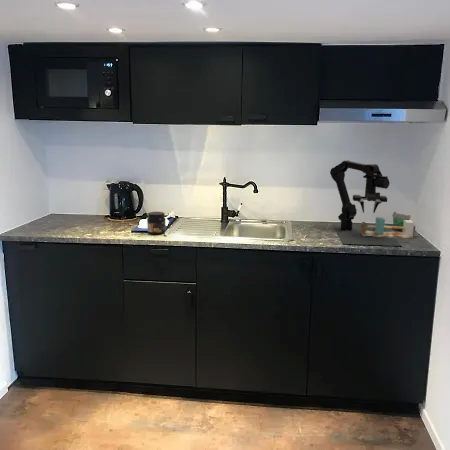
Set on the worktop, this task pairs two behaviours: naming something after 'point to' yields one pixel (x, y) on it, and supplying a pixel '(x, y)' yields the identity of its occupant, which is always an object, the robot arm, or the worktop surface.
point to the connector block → (408, 227)
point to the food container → (399, 220)
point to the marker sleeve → (379, 225)
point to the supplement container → (156, 223)
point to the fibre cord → (387, 227)
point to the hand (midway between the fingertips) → (368, 212)
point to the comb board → (386, 234)
